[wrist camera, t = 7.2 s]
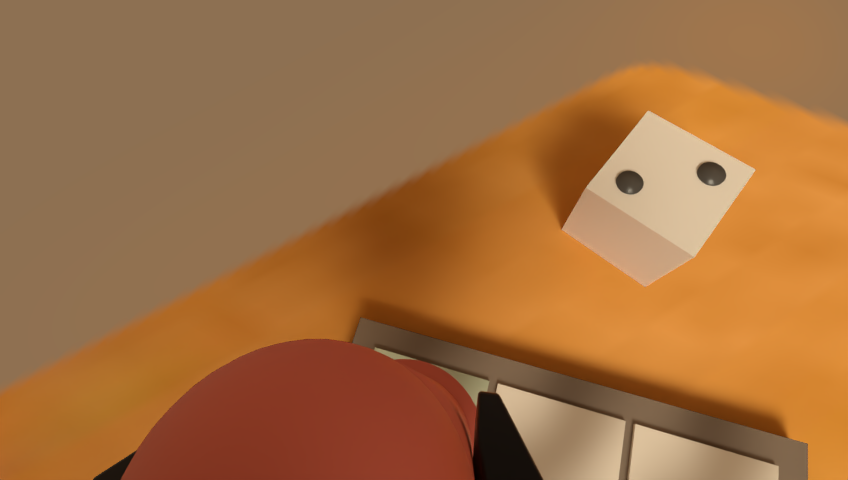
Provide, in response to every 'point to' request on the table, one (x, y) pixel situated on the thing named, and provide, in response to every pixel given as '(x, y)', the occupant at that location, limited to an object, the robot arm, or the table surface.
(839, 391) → the table surface
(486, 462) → the robot arm
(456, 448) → the pawn
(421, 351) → the board
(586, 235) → the die
